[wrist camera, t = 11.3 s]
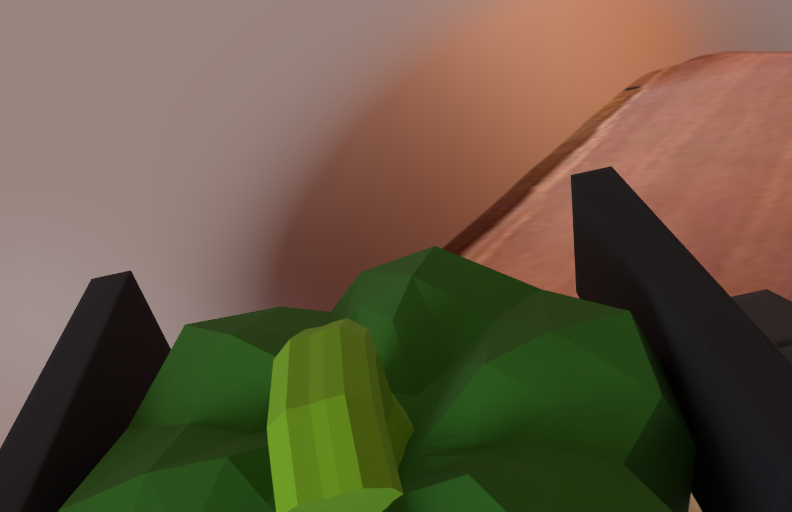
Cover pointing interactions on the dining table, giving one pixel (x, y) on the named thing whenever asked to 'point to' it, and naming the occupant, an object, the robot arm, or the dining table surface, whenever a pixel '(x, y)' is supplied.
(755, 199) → the dining table surface
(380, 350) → the bell pepper
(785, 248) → the dining table surface
